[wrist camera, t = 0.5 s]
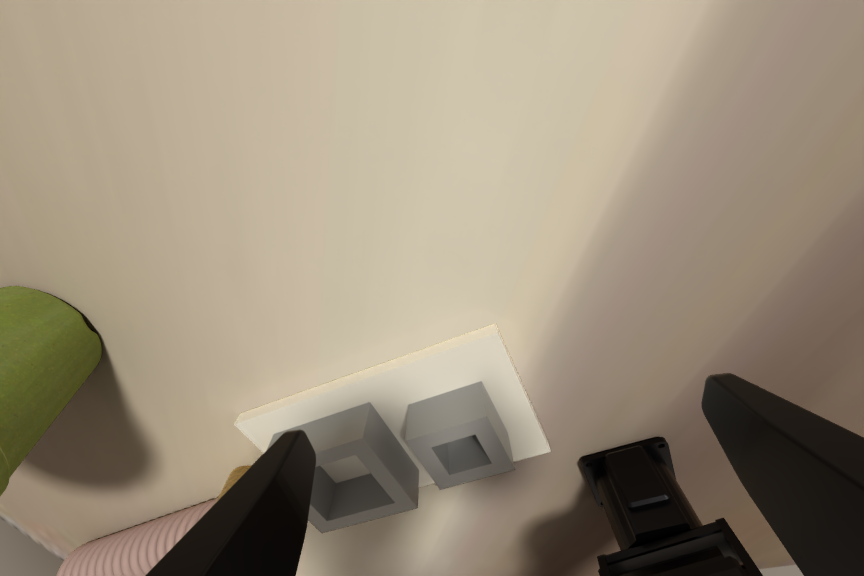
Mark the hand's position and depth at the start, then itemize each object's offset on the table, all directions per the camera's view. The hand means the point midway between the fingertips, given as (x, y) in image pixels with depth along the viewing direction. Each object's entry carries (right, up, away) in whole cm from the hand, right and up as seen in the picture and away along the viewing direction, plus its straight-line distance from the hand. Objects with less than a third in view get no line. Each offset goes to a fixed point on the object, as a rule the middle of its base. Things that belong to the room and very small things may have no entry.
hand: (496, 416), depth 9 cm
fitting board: (-4, -8, +21) cm, 22 cm away
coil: (-27, -19, +28) cm, 43 cm away
